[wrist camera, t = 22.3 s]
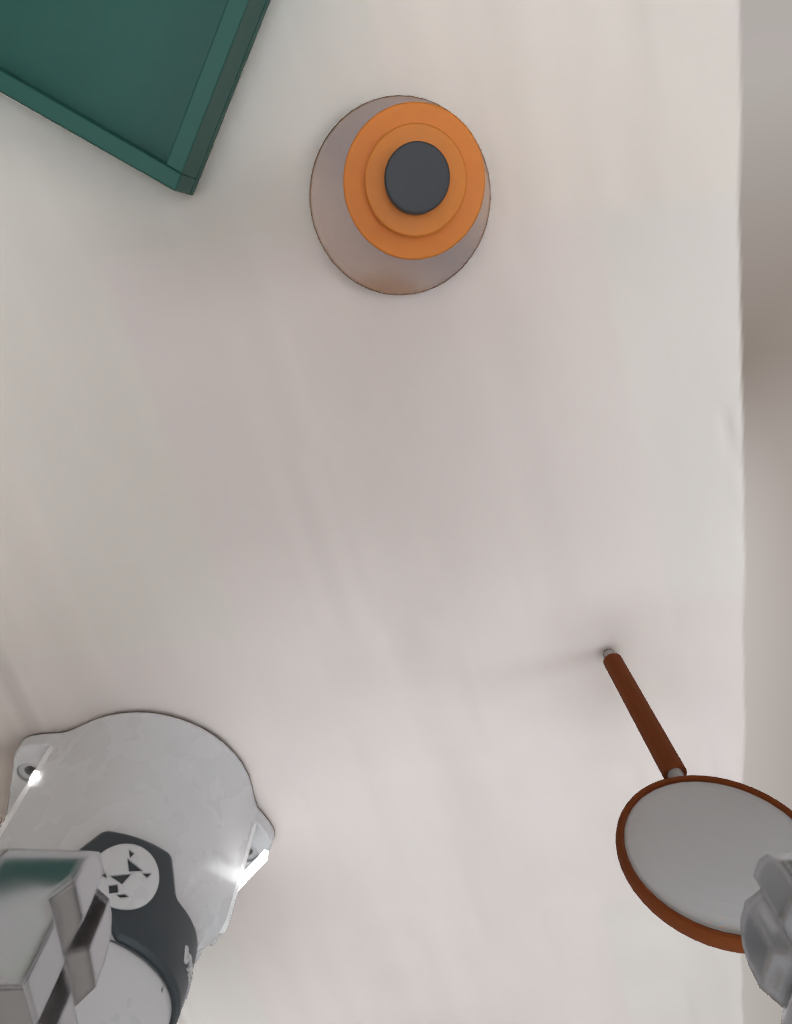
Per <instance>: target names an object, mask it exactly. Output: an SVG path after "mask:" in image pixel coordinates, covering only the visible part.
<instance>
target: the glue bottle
mask: <svg viewBox="0 0 792 1024" xmlns="http://www.w3.org/2000/svg"><path fill="white" fill-rule="evenodd" d="M343 189H344V197H345V201H346V206H347V209H348V211H349V214H350V216H351V218H352V220H353V222H354V224H355V226H356V227H357V229H358V230H359V232H360V233H361V234H362V235H363V237H364V238H365V239H366V240H367V241H368V242H369V243H371V244H372V245H373V246H374V247H376V248H377V249H379V250H380V251H382V252H384V253H386V254H388V255H390V256H393V257H396V258H401V259H407V260H419V259H426V258H431V257H434V256H437V255H439V254H442V253H443V252H445V251H447V250H449V249H450V248H452V247H453V246H454V245H456V244H457V243H458V242H459V241H460V240H461V239H462V238H463V237H464V236H465V235H466V234H467V232H468V231H469V230H470V229H471V227H472V225H473V224H474V222H475V220H476V218H477V216H478V214H479V212H480V209H481V206H482V202H483V198H484V193H485V168H484V162H483V158H482V155H481V151H480V149H479V146H478V144H477V142H476V140H475V138H474V137H473V135H472V133H471V132H470V131H469V129H468V128H467V127H466V125H465V124H464V123H463V122H462V121H461V120H460V119H459V118H458V117H456V116H455V115H454V114H452V113H451V112H449V111H447V110H446V109H444V108H442V107H439V106H437V105H434V104H430V103H425V102H404V103H400V104H396V105H393V106H390V107H388V108H386V109H384V110H382V111H380V112H379V113H377V114H376V115H375V116H373V117H372V118H371V119H370V120H369V121H368V122H367V123H366V124H365V125H364V126H363V127H362V128H361V129H360V131H359V132H358V134H357V135H356V137H355V138H354V140H353V142H352V144H351V146H350V149H349V151H348V154H347V157H346V161H345V166H344V173H343Z"/></svg>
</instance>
